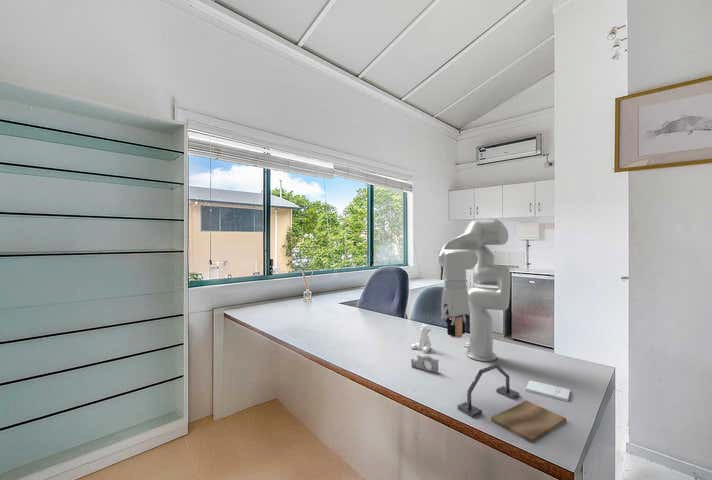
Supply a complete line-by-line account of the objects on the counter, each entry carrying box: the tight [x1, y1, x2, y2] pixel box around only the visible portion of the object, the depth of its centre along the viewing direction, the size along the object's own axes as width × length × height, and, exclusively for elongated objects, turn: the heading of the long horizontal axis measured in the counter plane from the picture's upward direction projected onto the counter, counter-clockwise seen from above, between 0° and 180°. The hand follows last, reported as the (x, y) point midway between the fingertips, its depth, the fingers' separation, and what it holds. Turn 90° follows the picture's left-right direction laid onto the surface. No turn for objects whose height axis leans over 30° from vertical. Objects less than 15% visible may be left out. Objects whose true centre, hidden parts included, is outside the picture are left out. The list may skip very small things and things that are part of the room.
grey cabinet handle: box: [457, 363, 520, 418], centre depth 104 cm, size 6×24×12 cm, turn 121°
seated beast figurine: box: [410, 324, 432, 354], centre depth 154 cm, size 10×9×12 cm
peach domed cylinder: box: [449, 316, 464, 339], centre depth 115 cm, size 4×4×7 cm
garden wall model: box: [410, 354, 440, 373], centre depth 131 cm, size 12×2×6 cm, turn 55°
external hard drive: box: [525, 380, 571, 403], centre depth 110 cm, size 2×8×12 cm
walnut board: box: [490, 400, 567, 444], centre depth 93 cm, size 12×18×1 cm, turn 121°
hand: (456, 333), depth 115 cm, fingers closed on peach domed cylinder, 4 cm apart
